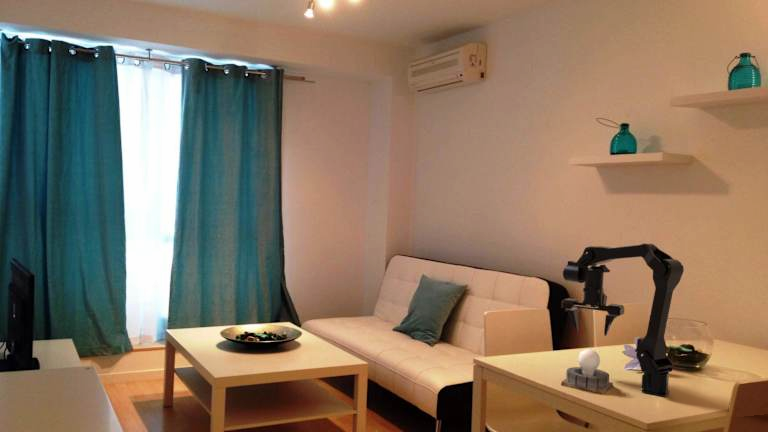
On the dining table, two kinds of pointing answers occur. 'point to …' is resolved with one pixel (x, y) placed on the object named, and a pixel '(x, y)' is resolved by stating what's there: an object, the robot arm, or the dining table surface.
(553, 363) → the dining table surface
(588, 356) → the lightbulb
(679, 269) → the robot arm
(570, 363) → the dining table surface
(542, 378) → the dining table surface
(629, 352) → the water lily
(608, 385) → the grey stone fire pit
